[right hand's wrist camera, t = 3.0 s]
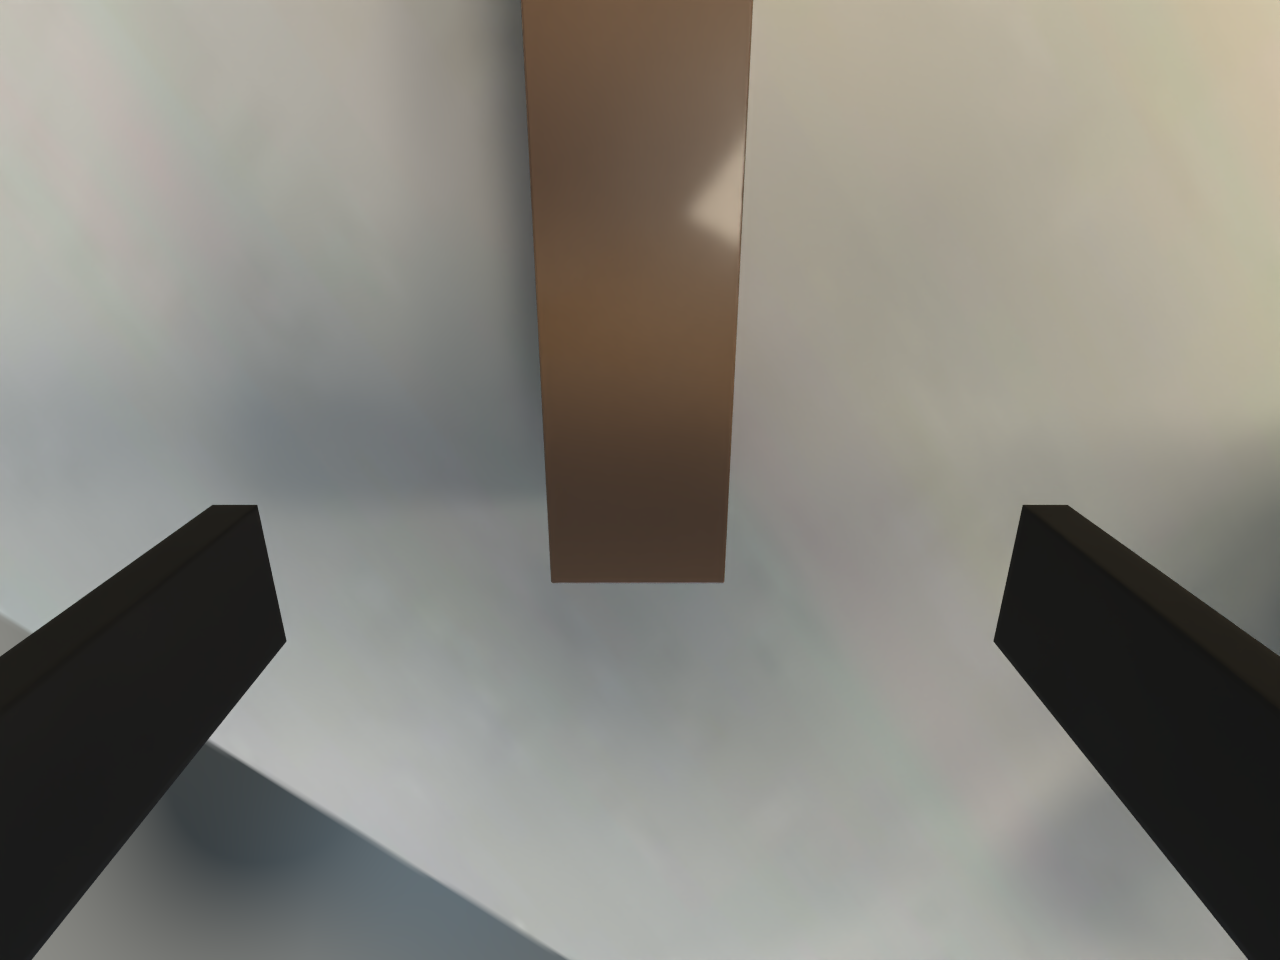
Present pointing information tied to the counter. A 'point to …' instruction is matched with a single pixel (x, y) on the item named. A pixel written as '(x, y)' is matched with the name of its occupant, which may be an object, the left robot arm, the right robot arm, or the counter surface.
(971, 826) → the counter surface
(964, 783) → the counter surface
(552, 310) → the bar
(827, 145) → the counter surface
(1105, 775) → the right robot arm
